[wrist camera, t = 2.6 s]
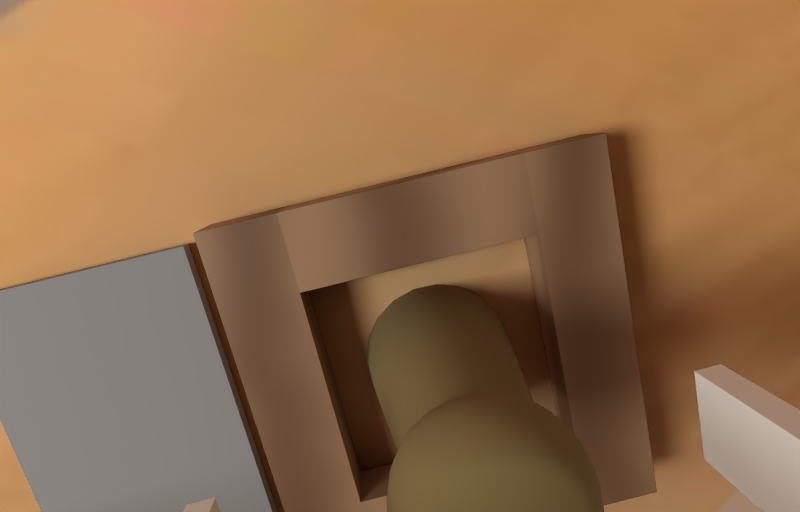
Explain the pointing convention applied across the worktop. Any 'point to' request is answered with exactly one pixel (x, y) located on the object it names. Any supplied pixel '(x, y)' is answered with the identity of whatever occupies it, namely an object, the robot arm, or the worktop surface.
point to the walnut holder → (416, 243)
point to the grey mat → (125, 392)
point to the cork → (469, 414)
